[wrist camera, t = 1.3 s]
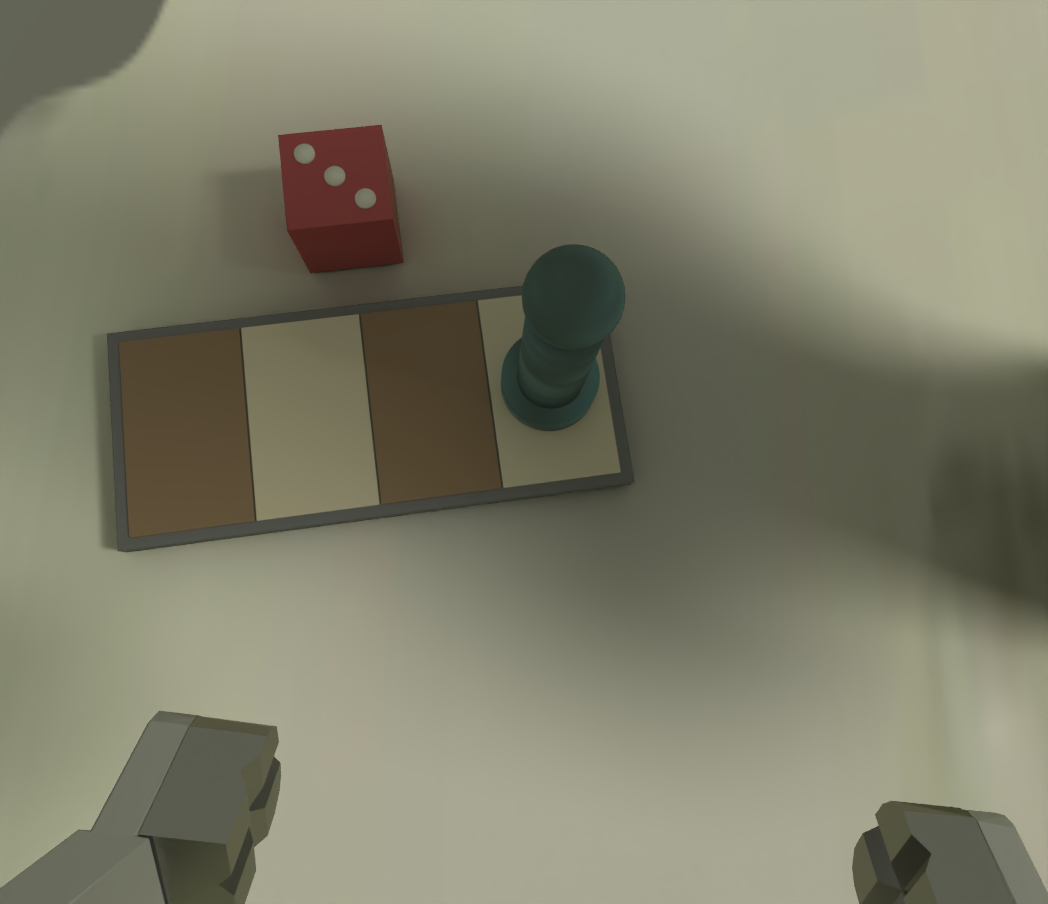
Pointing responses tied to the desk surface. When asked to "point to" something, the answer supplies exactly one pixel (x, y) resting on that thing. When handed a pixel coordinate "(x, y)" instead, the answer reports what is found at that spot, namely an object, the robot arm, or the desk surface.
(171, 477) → the board
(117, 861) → the robot arm
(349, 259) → the die
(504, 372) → the pawn
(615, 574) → the desk surface
